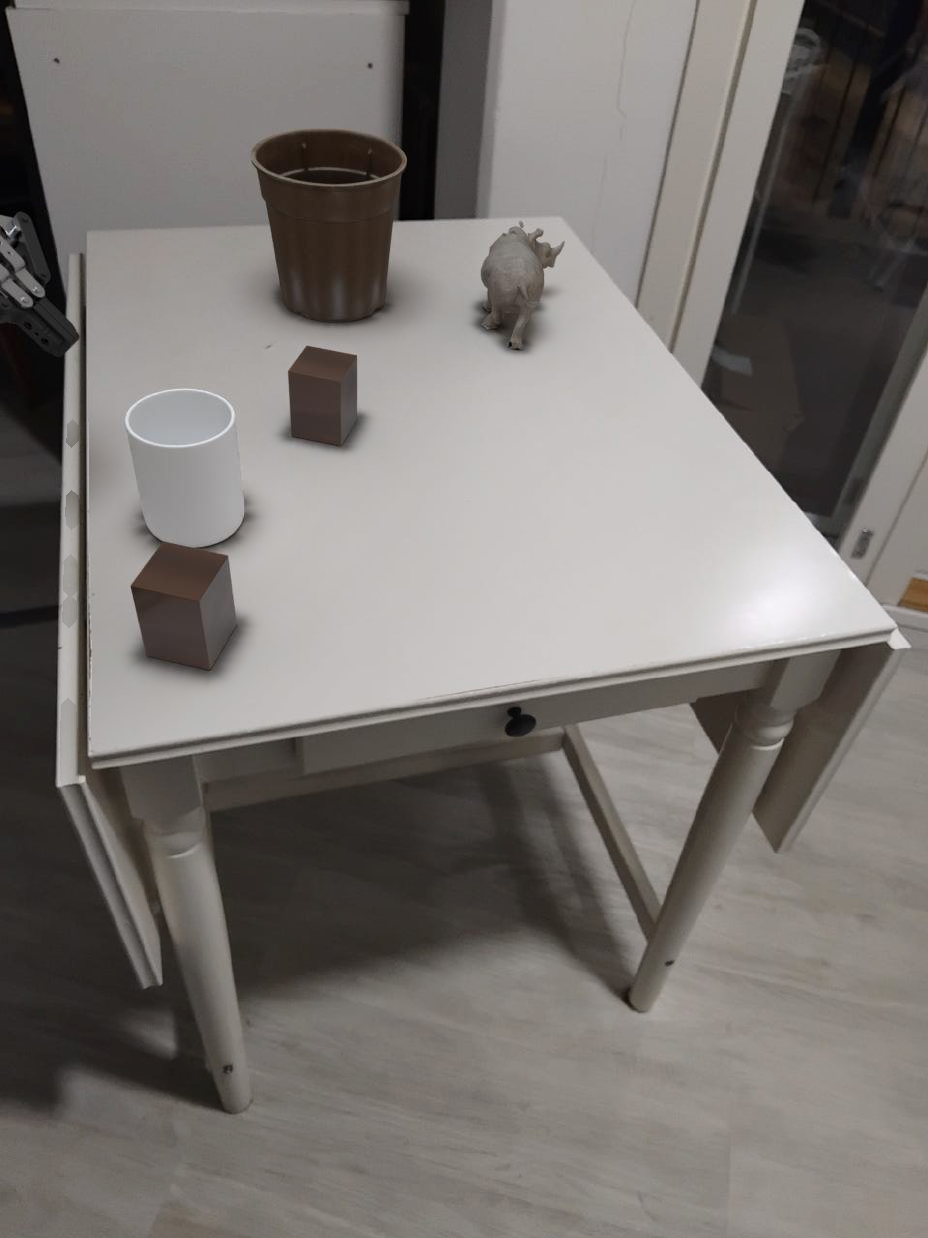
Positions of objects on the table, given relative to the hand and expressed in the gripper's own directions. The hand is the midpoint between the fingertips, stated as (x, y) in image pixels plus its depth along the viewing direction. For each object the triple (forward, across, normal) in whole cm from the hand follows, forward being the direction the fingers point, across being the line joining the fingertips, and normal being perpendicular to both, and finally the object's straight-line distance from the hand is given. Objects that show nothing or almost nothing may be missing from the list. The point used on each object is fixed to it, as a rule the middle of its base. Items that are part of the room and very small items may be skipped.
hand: (70, 347), depth 74 cm
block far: (+20, +15, -2) cm, 25 cm away
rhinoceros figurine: (+30, +45, -10) cm, 55 cm away
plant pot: (+15, +40, +4) cm, 43 cm away
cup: (+16, 0, +3) cm, 16 cm away
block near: (+20, -15, -2) cm, 25 cm away
